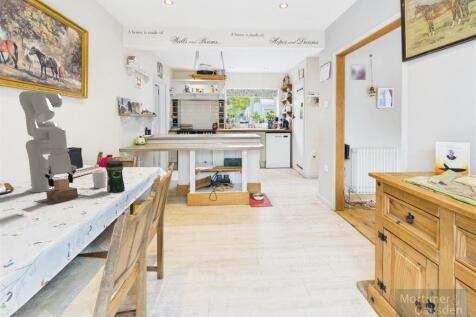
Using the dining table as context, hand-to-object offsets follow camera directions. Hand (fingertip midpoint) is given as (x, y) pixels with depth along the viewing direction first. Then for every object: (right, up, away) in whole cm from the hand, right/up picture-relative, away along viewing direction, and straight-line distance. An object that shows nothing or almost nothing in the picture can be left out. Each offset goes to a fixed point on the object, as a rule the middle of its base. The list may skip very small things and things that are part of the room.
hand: (61, 184), depth 144 cm
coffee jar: (+18, -6, +23) cm, 30 cm away
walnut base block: (0, -7, +1) cm, 8 cm away
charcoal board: (0, -9, +1) cm, 9 cm away
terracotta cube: (0, -2, 0) cm, 3 cm away
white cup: (+2, -5, +36) cm, 36 cm away
